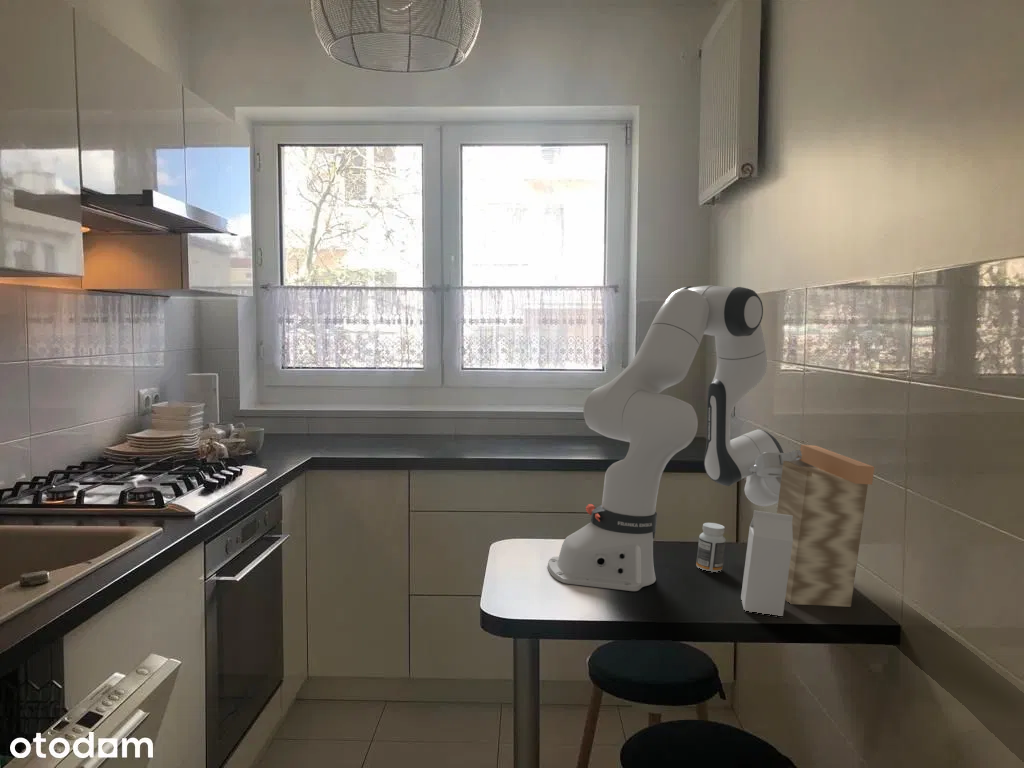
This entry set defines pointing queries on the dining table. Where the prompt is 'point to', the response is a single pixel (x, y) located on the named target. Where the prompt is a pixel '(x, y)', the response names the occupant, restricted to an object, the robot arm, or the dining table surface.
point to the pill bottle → (711, 547)
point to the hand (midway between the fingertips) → (818, 454)
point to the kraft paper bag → (821, 534)
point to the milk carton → (767, 563)
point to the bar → (837, 464)
